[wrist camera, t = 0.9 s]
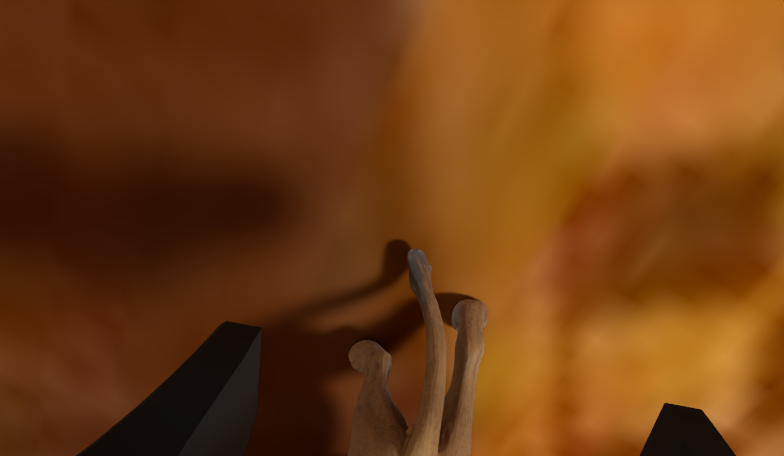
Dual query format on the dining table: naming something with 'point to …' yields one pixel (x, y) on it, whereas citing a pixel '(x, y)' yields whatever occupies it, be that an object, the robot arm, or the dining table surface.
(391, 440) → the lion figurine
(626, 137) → the dining table surface
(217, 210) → the dining table surface
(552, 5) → the dining table surface
